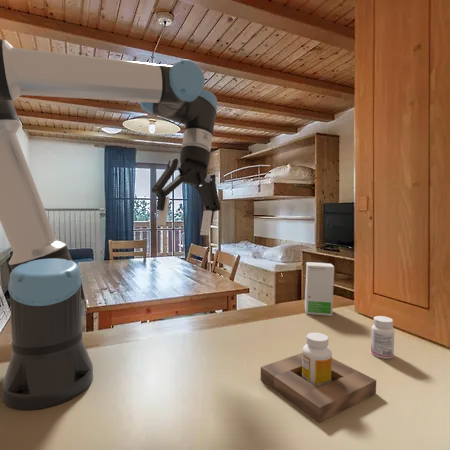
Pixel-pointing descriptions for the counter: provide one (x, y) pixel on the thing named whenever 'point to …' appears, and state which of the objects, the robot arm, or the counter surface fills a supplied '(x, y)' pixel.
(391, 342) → the pill bottle
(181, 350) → the counter surface
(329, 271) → the skincare box
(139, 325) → the counter surface
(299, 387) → the socket block
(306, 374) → the supplement bottle
